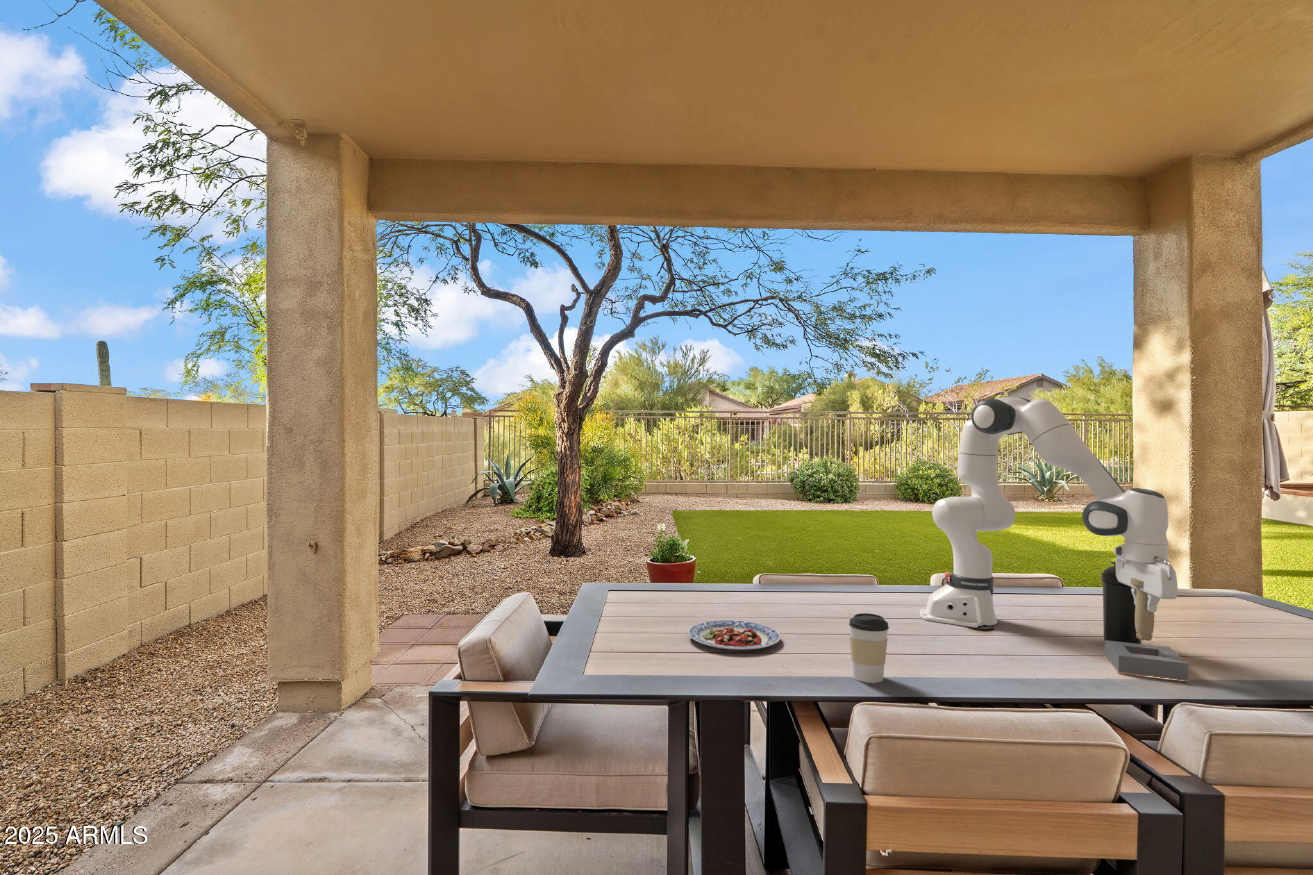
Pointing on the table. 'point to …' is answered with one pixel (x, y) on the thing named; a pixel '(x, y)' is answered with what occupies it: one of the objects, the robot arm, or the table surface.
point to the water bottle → (1118, 609)
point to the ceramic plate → (734, 634)
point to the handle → (1142, 613)
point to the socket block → (1145, 660)
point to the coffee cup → (868, 647)
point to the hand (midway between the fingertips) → (1145, 608)
